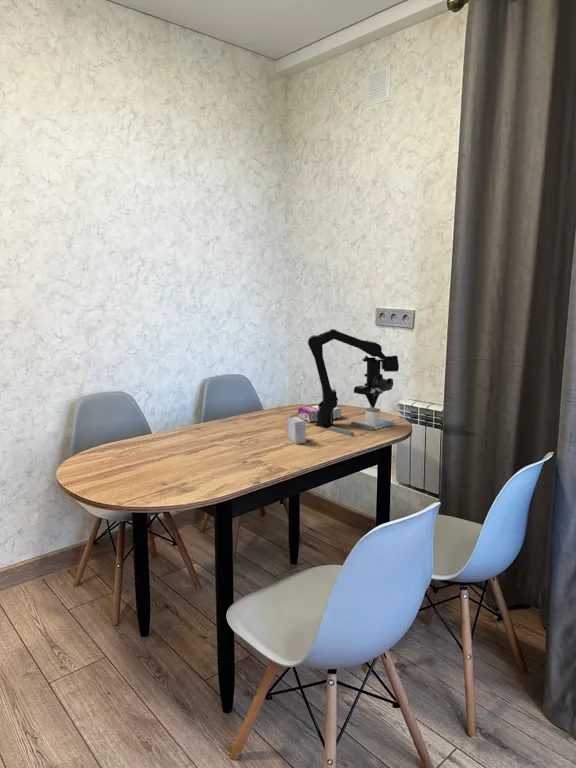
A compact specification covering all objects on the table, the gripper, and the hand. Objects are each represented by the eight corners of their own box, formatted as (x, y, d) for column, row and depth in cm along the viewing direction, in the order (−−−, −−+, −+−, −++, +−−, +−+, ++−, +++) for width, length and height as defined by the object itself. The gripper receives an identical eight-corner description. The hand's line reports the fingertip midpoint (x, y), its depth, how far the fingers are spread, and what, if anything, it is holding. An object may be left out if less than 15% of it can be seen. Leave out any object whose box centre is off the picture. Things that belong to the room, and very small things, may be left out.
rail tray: (350, 436, 213) (350, 432, 213) (329, 430, 222) (329, 426, 222) (393, 424, 230) (393, 421, 230) (372, 419, 239) (372, 416, 239)
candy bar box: (309, 423, 235) (341, 418, 242) (309, 412, 234) (341, 407, 241) (297, 418, 245) (328, 413, 252) (297, 407, 244) (328, 403, 251)
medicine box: (306, 443, 204) (306, 421, 202) (295, 444, 202) (295, 422, 201) (298, 438, 211) (298, 416, 210) (287, 439, 209) (287, 417, 208)
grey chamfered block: (374, 426, 227) (374, 410, 226) (365, 424, 231) (365, 408, 230) (379, 424, 229) (379, 409, 228) (370, 422, 233) (371, 407, 232)
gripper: (373, 376, 214) (372, 414, 217) (402, 371, 226) (401, 407, 229) (353, 373, 223) (352, 409, 225) (382, 368, 234) (381, 403, 237)
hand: (372, 407), depth 229 cm, fingers closed
